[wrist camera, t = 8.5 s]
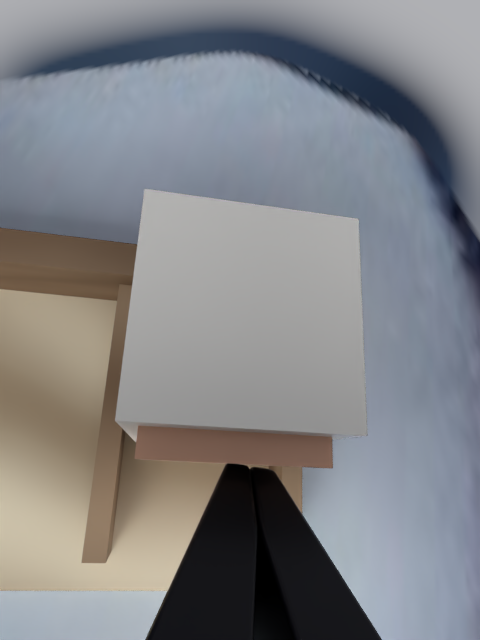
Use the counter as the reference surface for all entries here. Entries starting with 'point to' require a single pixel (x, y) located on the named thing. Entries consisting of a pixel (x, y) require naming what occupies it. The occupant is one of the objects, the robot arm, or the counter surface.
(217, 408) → the white tall block
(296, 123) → the counter surface
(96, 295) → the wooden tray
